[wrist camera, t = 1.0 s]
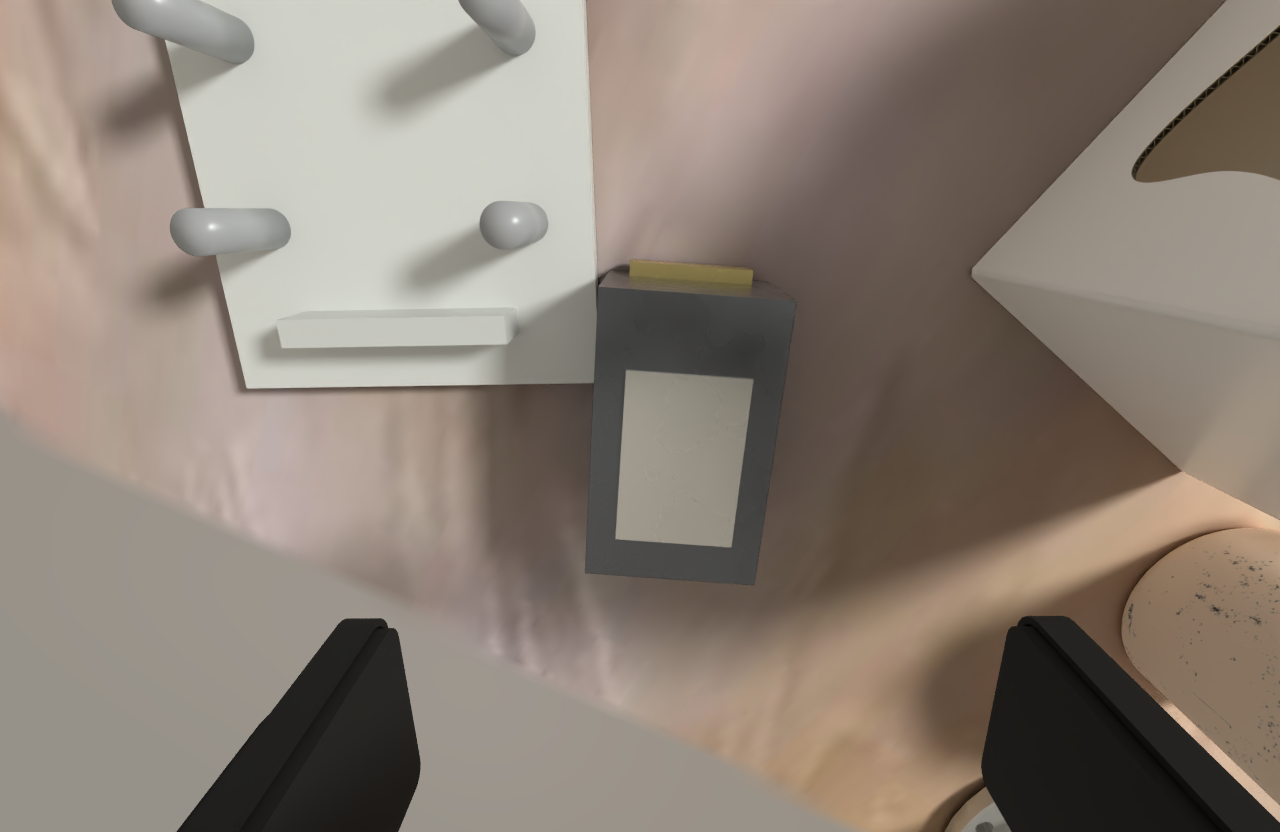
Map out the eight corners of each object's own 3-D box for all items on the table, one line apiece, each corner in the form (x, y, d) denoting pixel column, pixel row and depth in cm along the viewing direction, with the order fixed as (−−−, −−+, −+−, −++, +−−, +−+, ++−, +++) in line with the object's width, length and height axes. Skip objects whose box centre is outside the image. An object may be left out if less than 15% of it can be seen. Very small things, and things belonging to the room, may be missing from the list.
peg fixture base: (601, 376, 25) (589, 415, 20) (262, 381, 25) (171, 421, 20) (577, -184, 19) (552, -313, 14) (138, -165, 20) (-26, -285, 15)
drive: (734, 512, 27) (754, 587, 22) (598, 502, 27) (584, 574, 22) (767, 267, 24) (800, 284, 18) (611, 256, 24) (598, 269, 18)
